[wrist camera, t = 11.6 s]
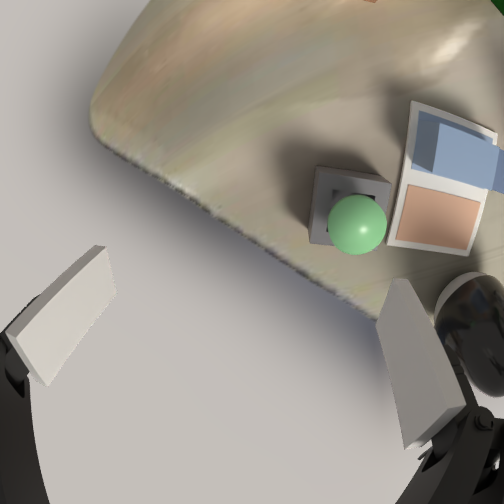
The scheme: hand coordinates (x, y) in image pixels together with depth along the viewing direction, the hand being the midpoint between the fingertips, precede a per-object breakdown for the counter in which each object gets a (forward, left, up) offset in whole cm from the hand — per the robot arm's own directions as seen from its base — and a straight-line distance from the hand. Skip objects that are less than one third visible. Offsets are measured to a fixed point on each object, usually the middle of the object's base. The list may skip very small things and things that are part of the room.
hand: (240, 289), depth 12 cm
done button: (0, +7, -11) cm, 13 cm away
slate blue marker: (-7, +17, -14) cm, 23 cm away
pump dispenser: (+9, +25, -15) cm, 30 cm away
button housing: (0, +7, -14) cm, 16 cm away
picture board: (-4, +18, -14) cm, 23 cm away
